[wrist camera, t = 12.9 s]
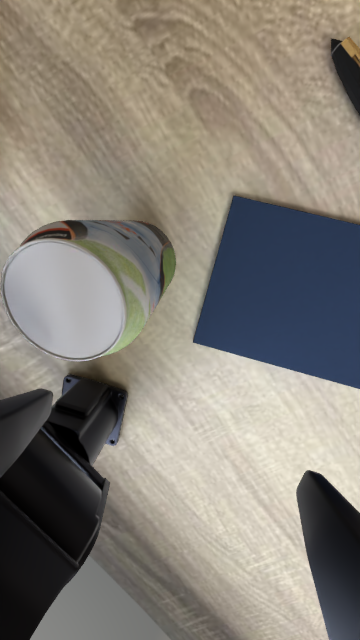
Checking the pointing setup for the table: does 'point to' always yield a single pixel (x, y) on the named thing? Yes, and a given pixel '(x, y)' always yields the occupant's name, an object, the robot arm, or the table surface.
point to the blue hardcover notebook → (286, 291)
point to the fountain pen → (348, 67)
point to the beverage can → (86, 285)
